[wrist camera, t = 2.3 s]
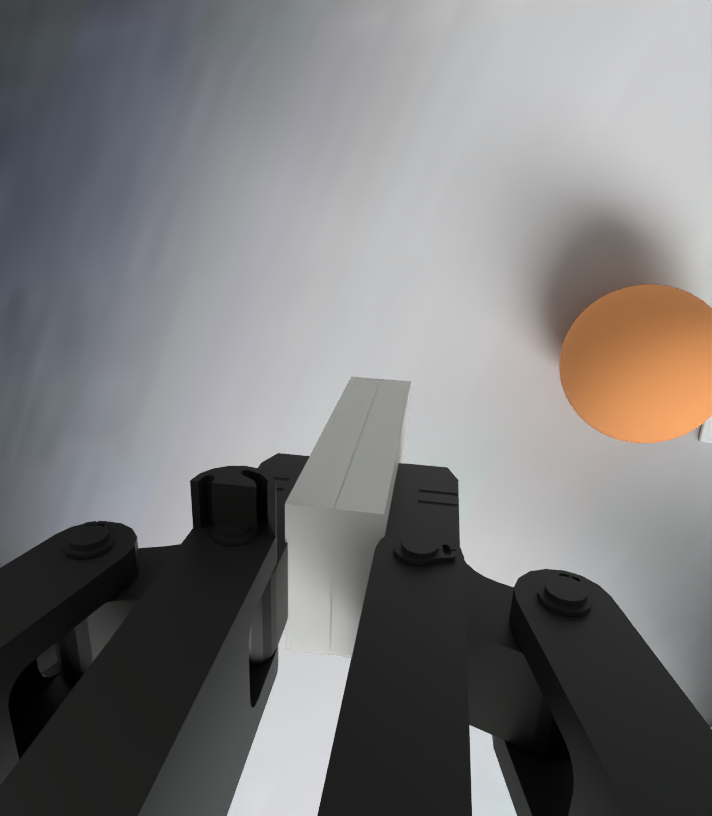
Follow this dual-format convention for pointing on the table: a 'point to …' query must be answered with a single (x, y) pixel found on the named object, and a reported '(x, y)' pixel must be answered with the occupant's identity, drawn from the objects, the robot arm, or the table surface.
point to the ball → (641, 363)
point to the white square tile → (706, 431)
